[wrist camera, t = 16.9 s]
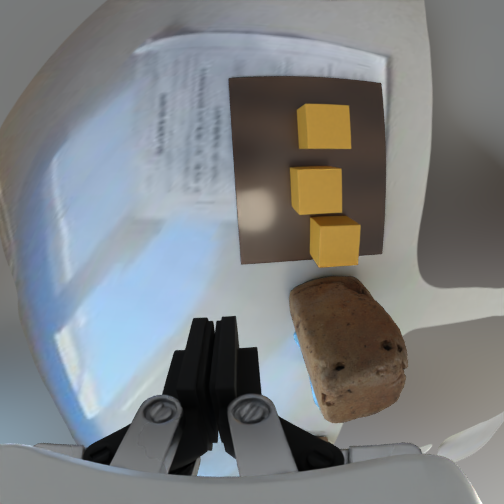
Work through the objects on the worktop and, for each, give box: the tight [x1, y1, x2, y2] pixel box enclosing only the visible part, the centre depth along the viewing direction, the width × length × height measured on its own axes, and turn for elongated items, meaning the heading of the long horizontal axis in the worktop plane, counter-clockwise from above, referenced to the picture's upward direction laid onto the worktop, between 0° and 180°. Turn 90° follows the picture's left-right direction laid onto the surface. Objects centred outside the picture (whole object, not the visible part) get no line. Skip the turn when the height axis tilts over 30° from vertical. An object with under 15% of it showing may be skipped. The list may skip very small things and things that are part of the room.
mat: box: [229, 76, 386, 264], centre depth 35 cm, size 24×20×1 cm
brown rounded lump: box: [289, 276, 408, 423], centre depth 32 cm, size 11×8×20 cm
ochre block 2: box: [290, 166, 342, 215], centre depth 34 cm, size 5×5×5 cm
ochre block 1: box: [297, 104, 351, 149], centre depth 31 cm, size 5×5×5 cm
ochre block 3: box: [310, 216, 361, 268], centre depth 36 cm, size 5×5×5 cm
